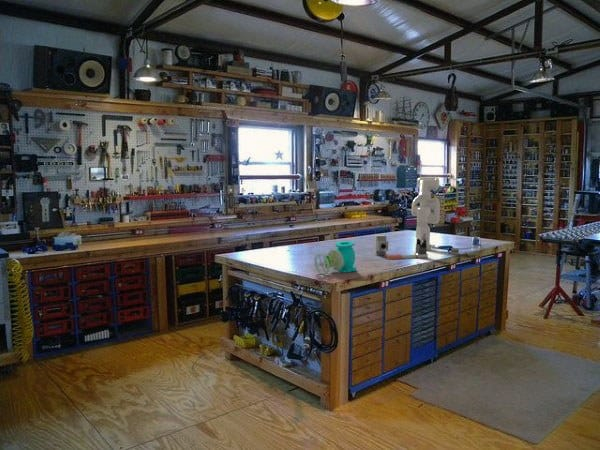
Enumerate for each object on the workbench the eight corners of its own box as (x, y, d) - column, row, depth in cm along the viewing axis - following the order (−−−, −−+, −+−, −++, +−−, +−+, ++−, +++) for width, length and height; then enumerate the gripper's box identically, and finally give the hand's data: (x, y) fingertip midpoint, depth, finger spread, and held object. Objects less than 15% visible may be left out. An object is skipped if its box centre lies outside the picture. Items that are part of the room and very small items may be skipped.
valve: (359, 242, 326) (324, 253, 308) (361, 268, 329) (326, 280, 311) (344, 240, 337) (310, 250, 319) (346, 265, 340) (312, 276, 322)
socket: (422, 252, 382) (423, 243, 381) (426, 254, 376) (426, 245, 376) (415, 253, 381) (415, 243, 380) (418, 254, 375) (419, 245, 374)
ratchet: (424, 256, 385) (424, 247, 384) (429, 258, 375) (430, 249, 374) (383, 257, 378) (383, 248, 378) (388, 259, 369) (388, 250, 368)
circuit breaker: (379, 256, 382) (379, 237, 380) (373, 253, 396) (373, 234, 394) (388, 256, 383) (389, 237, 382) (382, 253, 397) (382, 234, 396)
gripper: (412, 222, 384) (411, 244, 386) (422, 225, 367) (421, 248, 370) (421, 222, 385) (420, 244, 388) (431, 225, 369) (431, 248, 371)
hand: (421, 246), depth 379 cm, fingers open, 9 cm apart
